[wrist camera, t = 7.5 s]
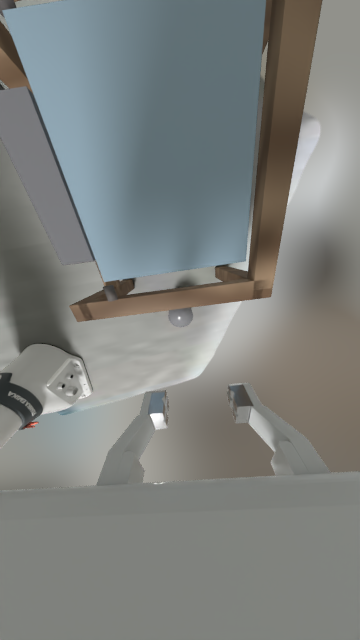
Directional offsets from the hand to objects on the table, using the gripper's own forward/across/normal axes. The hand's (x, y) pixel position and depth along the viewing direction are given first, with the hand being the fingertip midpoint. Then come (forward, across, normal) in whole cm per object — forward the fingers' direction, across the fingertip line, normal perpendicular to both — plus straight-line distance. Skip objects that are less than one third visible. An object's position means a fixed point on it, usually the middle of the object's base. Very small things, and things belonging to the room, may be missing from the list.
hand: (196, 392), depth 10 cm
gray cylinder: (+24, +1, +2) cm, 24 cm away
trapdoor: (+10, +3, -15) cm, 18 cm away
